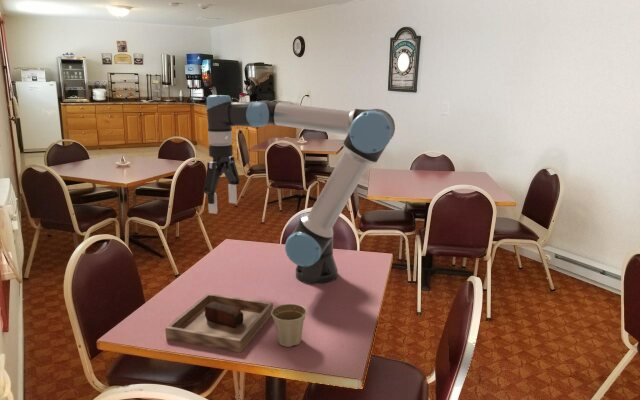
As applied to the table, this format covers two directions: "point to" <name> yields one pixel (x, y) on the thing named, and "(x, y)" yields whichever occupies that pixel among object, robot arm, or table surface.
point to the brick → (223, 314)
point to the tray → (216, 335)
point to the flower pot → (289, 323)
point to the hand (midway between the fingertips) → (223, 207)
